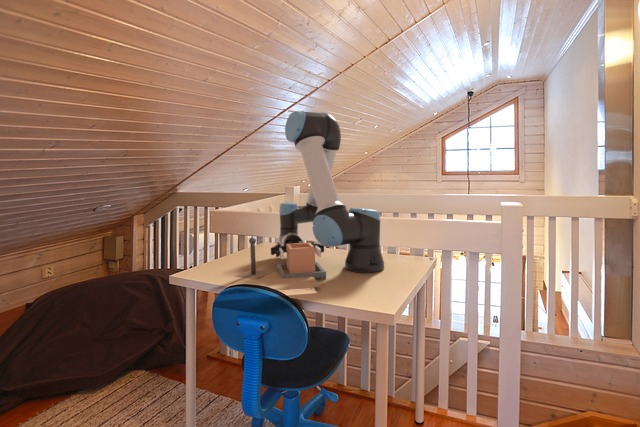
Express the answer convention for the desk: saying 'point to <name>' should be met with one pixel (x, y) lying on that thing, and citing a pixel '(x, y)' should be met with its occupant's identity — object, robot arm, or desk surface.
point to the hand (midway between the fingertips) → (301, 254)
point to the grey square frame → (318, 273)
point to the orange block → (300, 258)
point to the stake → (253, 265)
